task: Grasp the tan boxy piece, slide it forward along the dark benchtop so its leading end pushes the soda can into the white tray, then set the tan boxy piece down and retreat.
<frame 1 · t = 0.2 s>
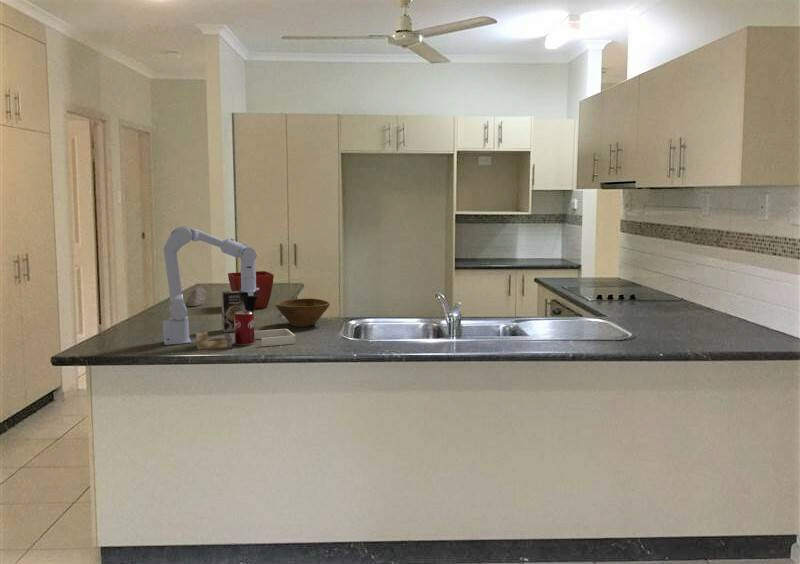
hand: (249, 311, 269), 10 cm above the countertop, tool pointing down, fingers open, 7 cm apart
bowl: (303, 325, 293), on the countertop
white tray: (275, 341, 261), on the countertop
coffee box: (234, 330, 283), on the countertop
plant pot: (251, 307, 340), on the countertop
soda can: (244, 344, 257), on the countertop
tan boxy piece: (202, 347, 251), on the countertop
pumice stone: (195, 305, 347), on the countertop
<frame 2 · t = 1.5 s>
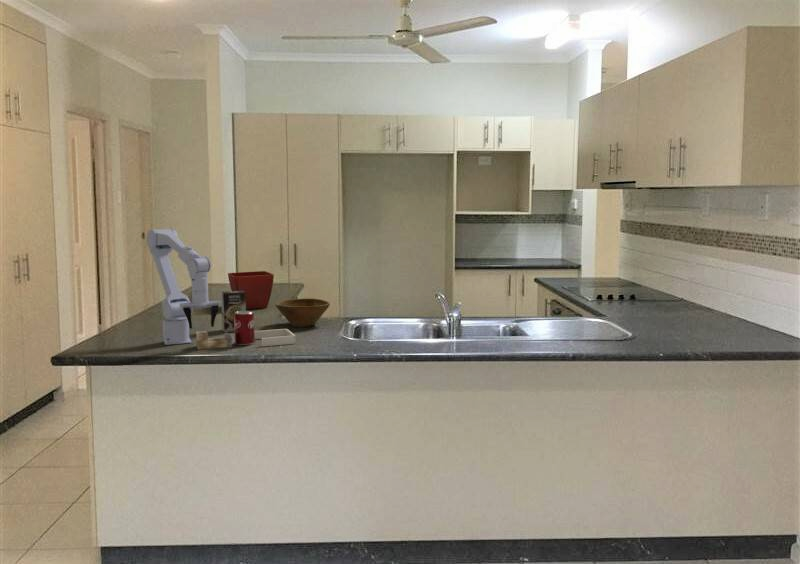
hand: (201, 327, 250), 8 cm above the countertop, tool pointing down, fingers open, 7 cm apart
nothing on the countertop moved.
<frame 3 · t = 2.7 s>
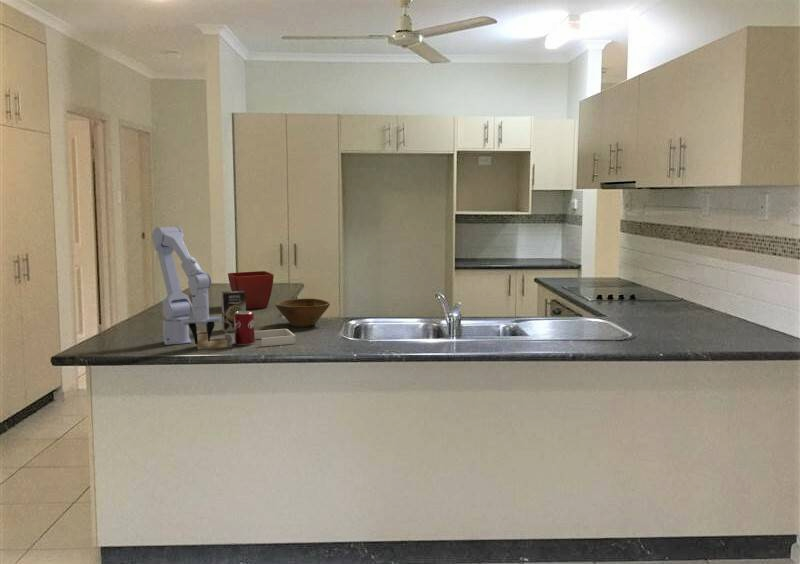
hand: (202, 343, 251), 2 cm above the countertop, tool pointing down, fingers closed on tan boxy piece, 4 cm apart
tan boxy piece: (202, 347, 251), on the countertop, touching gripper
everything else where it was.
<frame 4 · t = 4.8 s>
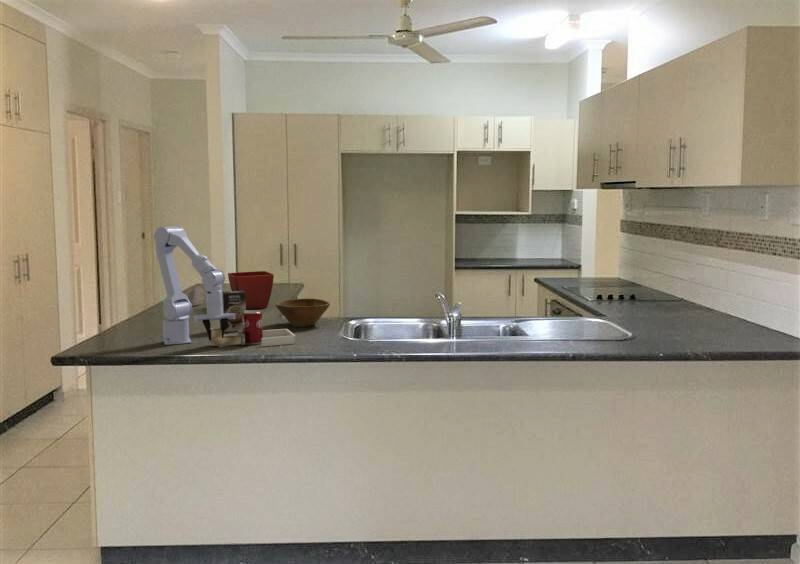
hand: (215, 339, 253), 3 cm above the countertop, tool pointing down, fingers closed on tan boxy piece, 4 cm apart
soda can: (253, 343, 258), on the countertop, touching tan boxy piece
tan boxy piece: (215, 343, 253), point 1 cm above the countertop, touching gripper, soda can
everything else where it was.
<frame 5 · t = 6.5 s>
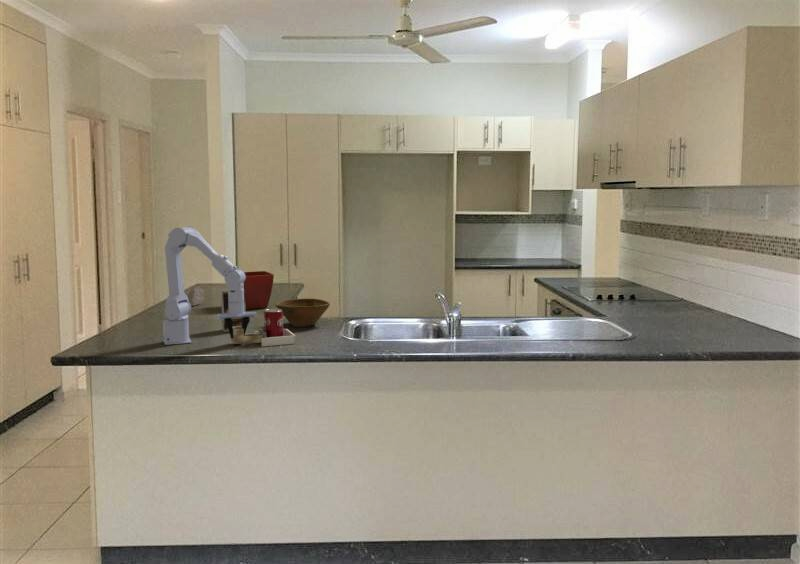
hand: (237, 337, 256), 3 cm above the countertop, tool pointing down, fingers closed on tan boxy piece, 4 cm apart
soda can: (273, 341, 261), on the countertop, touching tan boxy piece
tan boxy piece: (237, 342, 256), point 1 cm above the countertop, touching gripper, soda can
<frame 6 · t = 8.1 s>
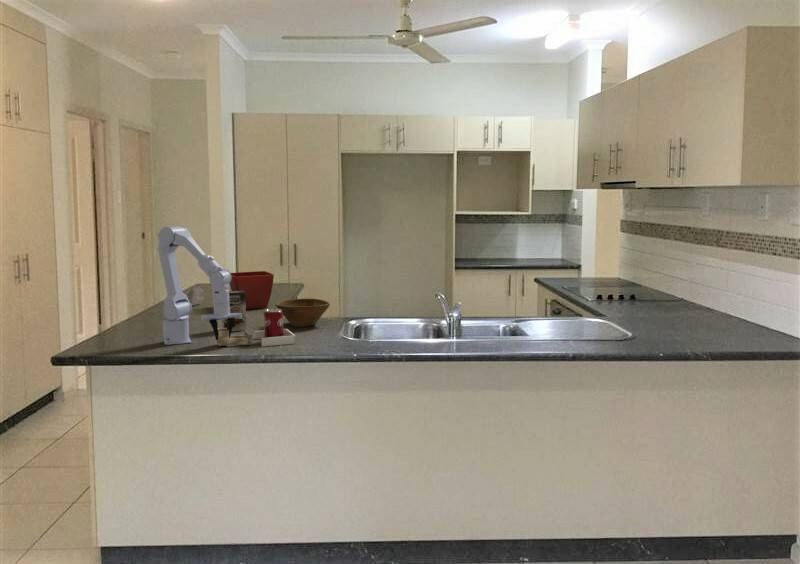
hand: (222, 338, 254), 3 cm above the countertop, tool pointing down, fingers closed on tan boxy piece, 4 cm apart
soda can: (274, 341, 261), on the countertop
tan boxy piece: (222, 344, 254), point 1 cm above the countertop, touching gripper
when the fingers open (2 cm above the countertop, at t = 9.1 s): tan boxy piece stays where it is, on the countertop.
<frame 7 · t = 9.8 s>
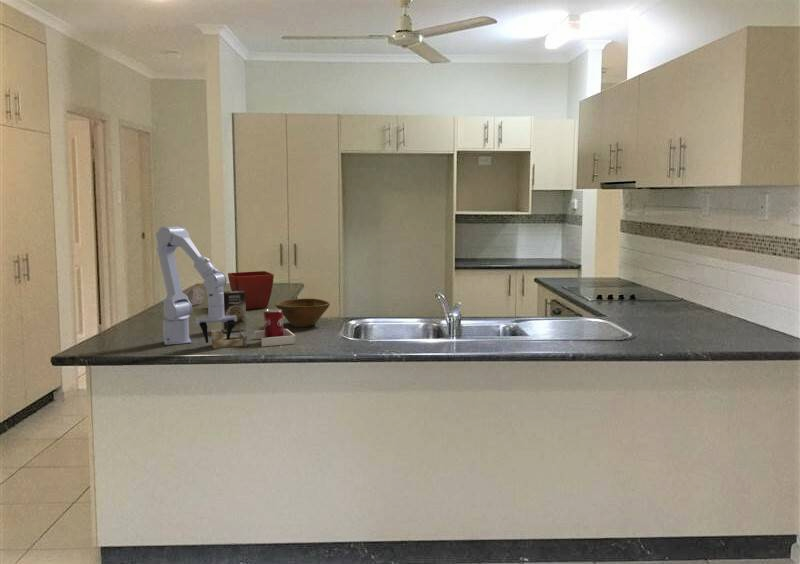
hand: (217, 341, 253), 2 cm above the countertop, tool pointing down, fingers open, 7 cm apart
tan boxy piece: (217, 346, 253), on the countertop
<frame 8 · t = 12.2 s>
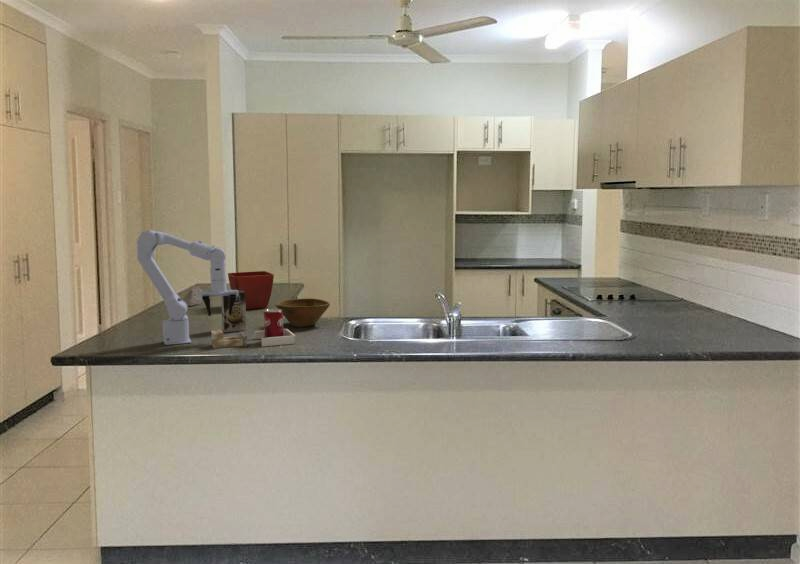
hand: (219, 314, 262), 10 cm above the countertop, tool pointing down, fingers open, 7 cm apart
at the end: soda can inside the target area on the white tray (0.0 cm from its centre), point 0.0 cm above the white tray's base; the gripper is holding nothing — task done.
